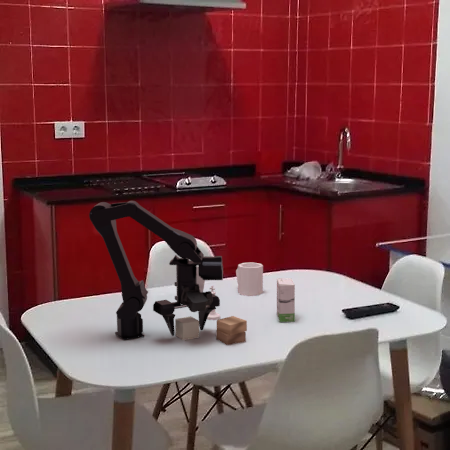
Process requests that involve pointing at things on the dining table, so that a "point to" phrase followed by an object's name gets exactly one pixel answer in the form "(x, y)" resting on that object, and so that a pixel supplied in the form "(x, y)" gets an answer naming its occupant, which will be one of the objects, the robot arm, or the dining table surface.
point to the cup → (200, 281)
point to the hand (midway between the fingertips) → (187, 332)
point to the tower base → (231, 338)
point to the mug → (250, 279)
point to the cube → (187, 328)
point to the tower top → (231, 325)
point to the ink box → (285, 300)
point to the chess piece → (213, 314)
